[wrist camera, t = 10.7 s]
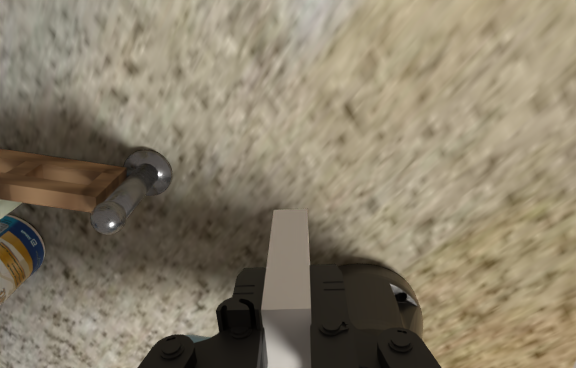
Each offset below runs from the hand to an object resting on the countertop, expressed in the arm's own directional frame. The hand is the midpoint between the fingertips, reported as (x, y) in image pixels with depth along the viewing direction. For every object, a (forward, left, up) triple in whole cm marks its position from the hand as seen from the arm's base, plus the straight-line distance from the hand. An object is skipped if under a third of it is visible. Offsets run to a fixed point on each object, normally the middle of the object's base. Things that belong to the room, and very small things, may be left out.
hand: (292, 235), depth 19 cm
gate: (-4, +26, -23) cm, 35 cm away
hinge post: (-6, +16, -24) cm, 30 cm away
